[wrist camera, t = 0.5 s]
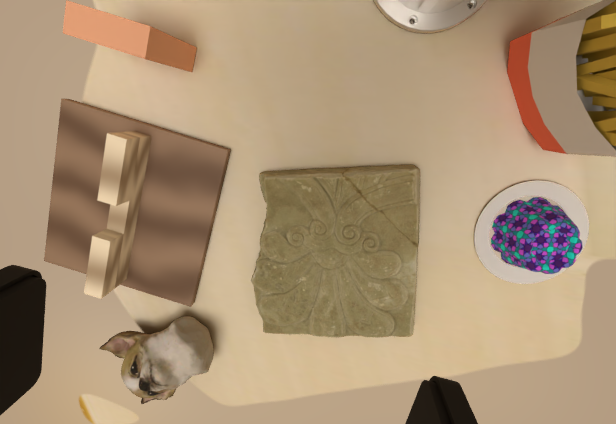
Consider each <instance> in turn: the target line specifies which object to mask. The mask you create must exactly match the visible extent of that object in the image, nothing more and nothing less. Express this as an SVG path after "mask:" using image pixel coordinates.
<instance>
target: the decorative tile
mask: <svg viewBox="0 0 616 424" xmlns="http://www.w3.org/2000/svg"><path fill="white" fill-rule="evenodd" d="M259 180H260V184H261V190H262V193H263V197H264V200H265V202H266V203H267V208H266V209H267V213H266V220H265V221H264V228H263V232H262V234H261V238H260V247H261V250H260V252H259V258H258V259H257V261H256V269H255V271H254V274H253V275H252V279H251V281H252V283H253V285H254V291H255V298H256V305H257V308H258V310H259V313H260V315H261V317H262V319H263V332H265V333H275V334H310V335H313V336H326V337H344V336H364V337H388V336H397V337H410V336H412V335H413V329H414V314H415V298H416V283H417V254H418V243H419V202H420V170H419V168H418V167H416V166H415V165H388V166H362V167H350V168H316V169H301V170H281V171H265V172H262V173H260V175H259Z"/></svg>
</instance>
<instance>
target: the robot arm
mask: <svg viewBox="0 0 616 424" xmlns="http://www.w3.org/2000/svg"><path fill="white" fill-rule="evenodd" d="M374 2H375V4H376V5H377V7H378V8H379V10H380V11H381V13H382V14H383V15H385V16H386V17H387V18H388V19H389V20H390V21H391V22H393V23H394V24H396V25H397V26H399V27H401V28H403V29H406V30H409V31H411V32H418V33H436V32H440V31H444V30H447V29H450V28H452V27H454V26H456V25H458V24H460V23H462V22H463V21H465V20H466V19H468V18H469V17H470V16H472V15H473V14H474V13H475V12H477V11H478V10H479V9H480V8H481V6H482V5H483V4H484V3H485V2H486V0H374ZM468 4H470V5H471V9H469V8H468V6H467V5H468ZM411 19H412V20H414V24H410V22H409V21H410V20H411ZM45 297H46V282H45V280H43V279H42V276H41V274H40V272H38V271H35V270H32V269H28V268H24V267H20V266H16V265H11V266H7V267H5V268H3V269H1V270H0V415H1V414H2V413H4V412H5V411H6V410H7V409H8V408H9V407H10V406H11V405H13V403H15V402H16V401H17V400H18V399H19V398H20V397H21V396H23V395H24V394H25V393H26V392H27V391H28V390H29V389H31V387H33V386H34V384H35V383H36V382H37V380H38V378H39V376H40V373H41V367H42V348H43V332H44V314H45ZM406 424H478V423H477V421H476V419H475V416H474V414H473V412H472V410H471V408H470V405H469V403H468V401H467V399H466V396H465V394H464V392H463V390H462V387H461V386H460V384H459V383H458V382H455V381H452V380H448V379H444V378H440V377H437V376H433V377H432V378H431V379H430V380H429V381H427V380H424V381H423V382H422V383H421V386H420V388H419V391H418V393H417V396H416V399H415V401H414V404H413V406H412V409H411V411H410V414H409V416H408V419H407V421H406Z"/></svg>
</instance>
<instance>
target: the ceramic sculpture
mask: <svg viewBox="0 0 616 424" xmlns="http://www.w3.org/2000/svg"><path fill="white" fill-rule="evenodd" d="M100 349H102V350H107V351H110V352H112V353H113V354H115V356H117V357H119V358H125V359H124V361H123V364H122V369H121V376H122V379H123V382H124V383H125V385H126V387H127V388H128V389H129V390H130V391H131V392H132V393H133V394H135V395H136V396H138V397H141V398H142V400H141V404H144V403H146V402H148V401H150V400H154V399H157V400H160V399H163V400H166V399H167V398H168V397H171V396H173V394H174V392H175V390H176V388H177V387H178V386H180V385H182V384H184V383H185V382H186V381H187V380H188V379H189V378H191V376H193V375H199V374H203V373H206V372H208V370H209V367H210V365H211V362H212V360H213V354H214V352H213V344H212V341H211V338H210V333H209V331H208V329H207V328H206V327H205V326H204V325H203V324H201V323H200V322H199V321H197V320H196V319H195V318H193V317H190V316H185V317H181V318H178V319H176V320H174V321H173V322H172V323H171V324H170V325H169V327H168V328H166V329H164V330H163V331H160V332H156V333H153V334H146V333H141V332H135V331H126V332H121V333H119V334H117V335H115V336H113V337H112V338H111V339H109V340H108V342H106V343H105V344H104V345H102V346H101V347H100Z"/></svg>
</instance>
